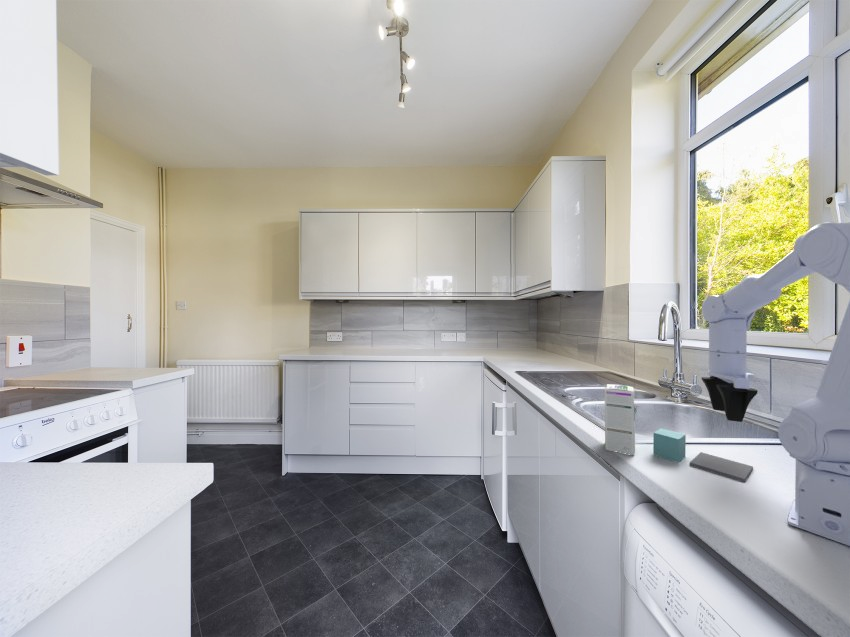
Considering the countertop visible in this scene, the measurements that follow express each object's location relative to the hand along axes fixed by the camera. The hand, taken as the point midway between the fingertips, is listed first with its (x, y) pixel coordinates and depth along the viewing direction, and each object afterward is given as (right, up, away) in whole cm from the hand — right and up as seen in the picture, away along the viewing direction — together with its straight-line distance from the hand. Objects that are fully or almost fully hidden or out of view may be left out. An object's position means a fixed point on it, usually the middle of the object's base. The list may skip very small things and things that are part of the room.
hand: (726, 415), depth 66 cm
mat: (-4, -10, -3) cm, 11 cm away
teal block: (-10, -10, +2) cm, 14 cm away
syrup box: (-19, -10, +6) cm, 22 cm away
